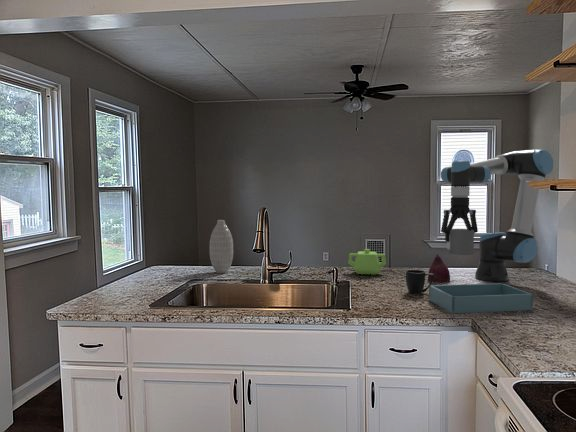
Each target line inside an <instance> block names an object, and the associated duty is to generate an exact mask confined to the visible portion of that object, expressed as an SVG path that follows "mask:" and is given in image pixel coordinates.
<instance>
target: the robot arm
mask: <svg viewBox="0 0 576 432" xmlns="http://www.w3.org/2000/svg"><path fill="white" fill-rule="evenodd" d="M553 168H554V160H553V157H552V154H551V153H550V152H549V151H548V150H547V149H542V148H541V149H538V148H537V149H536V148H535V149H524V150H514V151H510V152H507V153H503V154H499V155H495V156H494V157H493V158H490V159H485V160H479V161H475V162H470V160H454V161H452V162H451V166H450V165H449V166H445V167H444V168H442V169H441V172H440V178H441V181H442V182H443V183H445V184H451V185H450V196H451V197H450V208H449V209H444V210H443V219H442V223H441V229H440V232H441V233H442V234H444V235H445V236H444V238H445V239H444V240H445V242H446V249H447V250H448V251H449V250H450V230H452V229H454V228H453V227H455V226H454V225H455V223H456V222H457V220H458V219H462V221H463V223H464V225H465V229H468V230H470V231H471V230H474V235H475V234H476V233H478V232H479V229H478V223H477V217H476V213H477V210H476V209H470V197H469V196H470V190H471V189H470V187H471V186H470V184H482V183H483V184H484V183H487V182H488V181H489V180H490V178H491V176H492V175H498V176H501V175H517V177H518V178H519V181H520V182H519V187H518V190H517V191H518V192H517V197H516V202H515V207H514V211H513V218H512V223H511V228H510V229H507V231H506V232H503V231H501V232H500V231H498V232H487V233H481V234H480V238H479V262H478V265H477V268H476V270H475V273H474V274H475V275H474V277H475V279H477V280H482V281H487V282H506V281H508V280H509V274H508V270H507V268H506V267H507V266H506V262H505V261H511V262H516V263H525V264H526V263H529V262H531V260H533V259H534V258H535V256H536V254H537V252H538V243H537V241H536V239H534V237H535V236H534V234H533V233H532V228H533V223H534V218H535V213H536V209H537V207H536V206H537V201H538V198H539V193H540V188H539V189H534V188H532V187H530V186H529V185H530V184H529V182H526V181H542V182H543V181H545V180H546V175H549V174H551V173H552V171H553ZM450 214H451V216H450ZM468 214H469V216H468Z"/></svg>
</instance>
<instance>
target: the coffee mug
mask: <svg viewBox="0 0 576 432" xmlns="http://www.w3.org/2000/svg"><path fill="white" fill-rule="evenodd" d="M474 241H475V234H474V230H471V231H470V230H468V229H467V228H452V230H450V250H449V249H448V254H451V255H459V256H460V255H461V256H463V255H464V256H470V255H473V254H474V251H475V250H474V249H475V246H474V245H475V242H474Z"/></svg>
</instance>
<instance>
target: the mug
mask: <svg viewBox="0 0 576 432" xmlns="http://www.w3.org/2000/svg"><path fill="white" fill-rule="evenodd" d="M428 275H432V276H433V278H432V281H429V282H430V283H429V284H428V285H427V287H426V288H424V287H425V282H426V276H428ZM433 281H434V274H428V273H426V271H424V270H421V269H407V270H406V271H405V283H406V287H407V291H408V293H409V294H411V295H421V294H423V293H425V292H426V291H428V290H429V286H432V283H434V282H433Z"/></svg>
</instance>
